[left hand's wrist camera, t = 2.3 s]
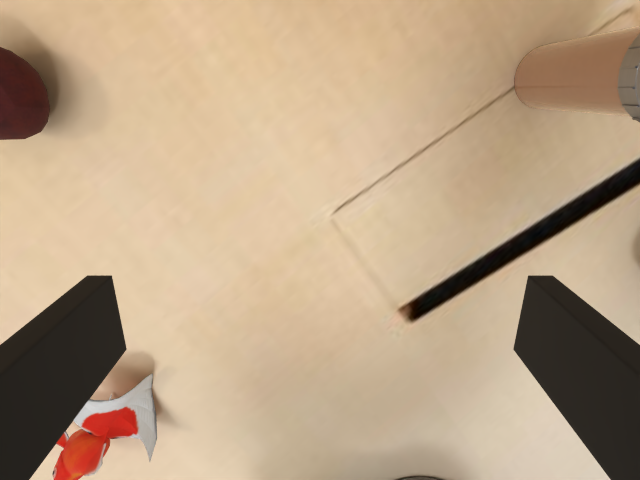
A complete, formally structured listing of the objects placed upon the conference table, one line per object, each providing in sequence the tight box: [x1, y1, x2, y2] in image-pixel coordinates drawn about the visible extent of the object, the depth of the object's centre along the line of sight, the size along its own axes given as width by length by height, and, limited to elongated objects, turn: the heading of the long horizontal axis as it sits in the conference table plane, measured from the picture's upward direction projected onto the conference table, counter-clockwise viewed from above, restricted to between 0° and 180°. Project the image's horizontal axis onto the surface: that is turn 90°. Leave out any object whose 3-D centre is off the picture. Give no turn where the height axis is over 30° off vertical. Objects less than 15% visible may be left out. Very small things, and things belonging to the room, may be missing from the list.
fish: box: [53, 374, 157, 480], centre depth 46 cm, size 11×16×10 cm
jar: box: [514, 26, 640, 116], centre depth 29 cm, size 5×5×16 cm
